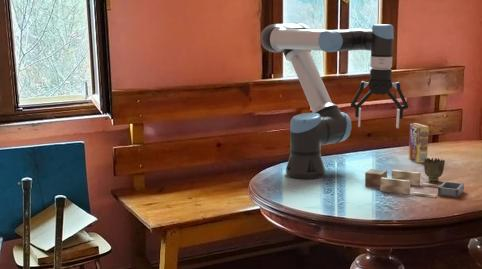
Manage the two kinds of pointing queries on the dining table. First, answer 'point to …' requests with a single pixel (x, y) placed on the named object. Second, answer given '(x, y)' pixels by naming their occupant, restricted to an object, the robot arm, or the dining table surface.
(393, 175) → the twin plank rail frame
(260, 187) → the dining table surface
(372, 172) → the block
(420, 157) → the candy box
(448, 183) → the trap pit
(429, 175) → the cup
